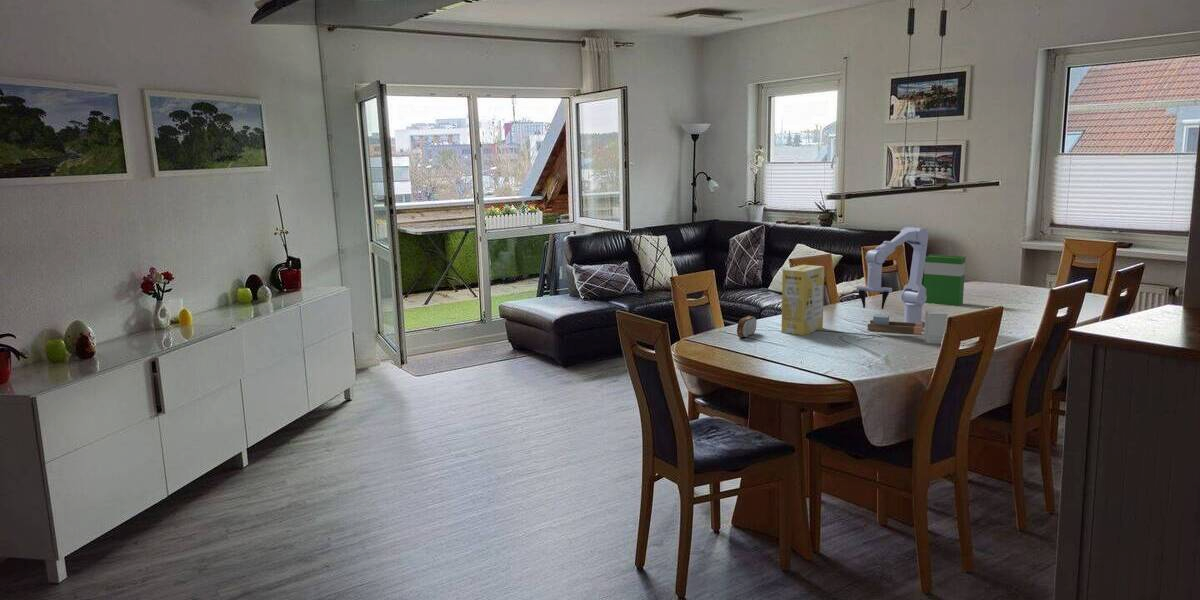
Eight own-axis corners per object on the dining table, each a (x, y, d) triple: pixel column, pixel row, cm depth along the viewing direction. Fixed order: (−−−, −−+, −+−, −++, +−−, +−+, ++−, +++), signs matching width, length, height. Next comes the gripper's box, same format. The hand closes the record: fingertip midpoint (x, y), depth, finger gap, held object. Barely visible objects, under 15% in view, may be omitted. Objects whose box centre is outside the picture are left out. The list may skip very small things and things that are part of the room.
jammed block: (874, 327, 362) (874, 314, 361) (888, 328, 360) (889, 314, 359) (872, 330, 357) (873, 316, 356) (887, 330, 355) (887, 317, 353)
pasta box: (801, 324, 371) (802, 264, 366) (822, 327, 365) (824, 266, 359) (781, 332, 358) (782, 269, 353) (803, 335, 351) (804, 271, 346)
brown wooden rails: (870, 326, 365) (870, 320, 364) (922, 330, 355) (922, 323, 355) (867, 330, 356) (867, 324, 356) (921, 334, 347) (921, 327, 347)
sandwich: (751, 332, 360) (751, 313, 358) (757, 333, 358) (757, 314, 356) (736, 339, 348) (736, 320, 346) (742, 340, 346) (743, 320, 344)
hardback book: (922, 302, 416) (924, 256, 411) (926, 300, 421) (929, 254, 417) (958, 306, 405) (961, 258, 400) (962, 303, 411) (965, 256, 406)
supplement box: (946, 344, 330) (947, 313, 328) (926, 343, 332) (928, 313, 329) (942, 339, 337) (943, 310, 335) (923, 339, 339) (924, 309, 337)
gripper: (855, 278, 351) (854, 308, 353) (891, 279, 345) (890, 310, 347) (858, 275, 357) (856, 305, 359) (892, 277, 351) (891, 307, 354)
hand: (873, 308), depth 354 cm, fingers open, 7 cm apart
